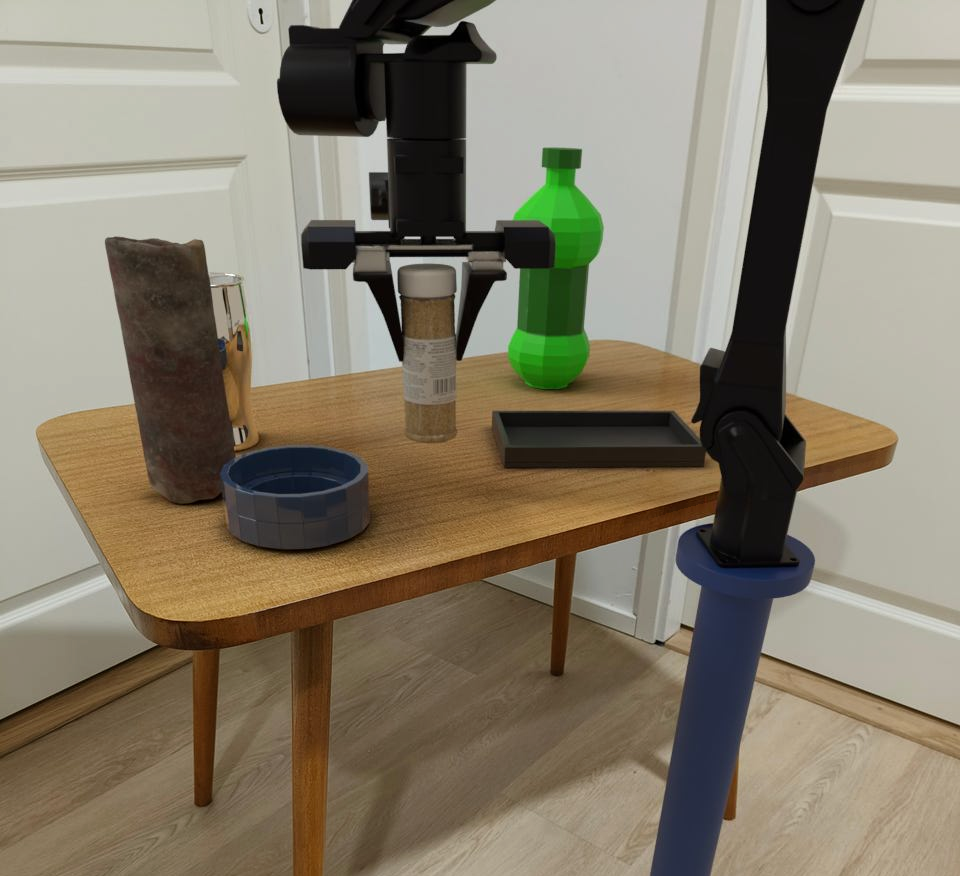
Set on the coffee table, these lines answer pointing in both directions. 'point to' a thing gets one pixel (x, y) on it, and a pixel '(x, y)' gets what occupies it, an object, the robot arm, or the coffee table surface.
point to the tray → (595, 439)
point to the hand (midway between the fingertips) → (430, 360)
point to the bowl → (296, 496)
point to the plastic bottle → (556, 279)
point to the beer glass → (235, 353)
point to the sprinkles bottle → (429, 351)
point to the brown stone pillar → (173, 363)
